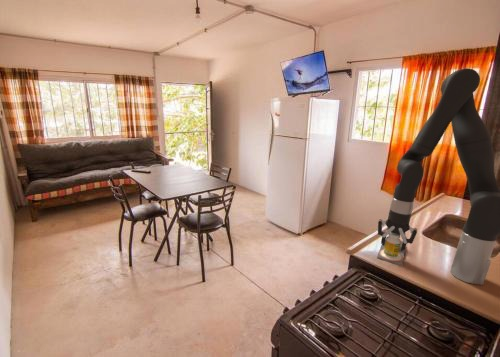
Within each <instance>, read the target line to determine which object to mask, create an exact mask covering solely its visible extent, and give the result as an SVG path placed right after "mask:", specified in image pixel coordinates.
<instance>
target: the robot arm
mask: <svg viewBox="0 0 500 357" xmlns="http://www.w3.org/2000/svg"><path fill="white" fill-rule="evenodd" d="M480 83H481V77H480V75H479V72H478V71H477V70H475V69H473V68H460V69H458V70H455V71H454V72H452V73H450V74H449V75H447V77H446V78H445V79H444V80H443V81H442V82H441V84H440V85H441V86H440V92H441V93H440V94H441V97H440V99H439V101H438V104H437V105H436V107H435V109H434V110H433V112H432V113H431V114H430V116H429V117H428V119H427V120H426V121H425V123H424V124H423V125H422V127H421V129H419V130H420V131H418V133H417V135H416V137H415V139H414V140H413V142H412V144H411V146H410V147H409V148H408V150H407V151H406V152H405V153H404V154H403V155H402V156H401V158H400V159H399V161H398V162H397V166H396V171H397V173H398V174H399V175H400V180H399V183H397V184H396V185H395V187H394V191H393V196H392V199H391V201H390V202H391V203H390V208H389V212H388V217H387V219H386V220H383V219H382V218H381V219H379V220H378V221H377V222H378V223H377V235H379V236H381V241H380V244H381V245H383V246H384V245H385V241H386V238H387V237H388V236H389V233H390V232H391V233H396V234H398V235H400V238H401V239H402V241H403V242H402V247H401V251H403V250H405V251H406V248H407V244H410V245H411V244H413V243H414V241H415V238H416V235H417V234H418V228H416V227H411V226H410V224H411V223H410V222H411V219H412V218H411V217H412V213H413V211H414V201H415V197H416V192H417V190H418V188H419V186H420V184H421V182H422V180H423V178H424V172H425V170H424V166H423V165H422V164H421V163H422V162H423V160H425V158H428V157H430V156H431V155H432V154H433V152H434V151H435V149H436V147H437V146H438V144H439V143H440V141H441V139H442V137H443V136H444V134H445V132H446V131H447V130H448V127H449V126H450V124H451V128H452V134H453V138H454V139H453V140H454V143H455V144H454V145H455V148H456V151H457V156H458V158H459V161H460V164H461V168H462V169H463V171H464V173H465V175H466V176H465V177H466V178H467V182H468V183H467V184H468V190H469V203H470V209H469V214H468V217H467V220H466V222H465V223H464V224H463V227H462V232H461V235H460V237H459V240H458V243H457V247H456V251H455V253H454V257H453V261H452V263H451V268H450V274H452V276H454V277H455V278H457V279H458V280H460V281H462V282H465V283H468V284H473V285H481V286H484V283H485V280H486V278H487V275H488V271H489V269H490V266H491V263H492V261H491V257H492V254H493V251H494V248H495V245H496V242H497V239H498V237H499V235H500V186H499V184H498V182H497V179H496V175H495V154H494V147H493V142H492V138H491V135H490V132H489V129H488V127H487V126H486V124H485V121H484V120H483V119H482V117H481V116H480V114H479V112H478V109H477V107H476V101H475V97H474V92H475V91H476V90H477V89H478V88H479V86H480ZM384 226H386V227H387V229H386V230H385V231H383V227H384ZM408 231H409V232H410V234H411V235H410V237H409V238H408V237H407V234H406V233H407V232H408Z"/></svg>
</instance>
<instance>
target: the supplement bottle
mask: <svg viewBox="0 0 500 357" xmlns="http://www.w3.org/2000/svg"><path fill="white" fill-rule="evenodd" d="M401 241H402V240H401V235H398V234H396V233H391V232H390V233H389V234H388V235H387V236H386V242H385V248H384V254H385V255H386V256H388V257H391V258H396V257H398V254H399V249H400V244H401Z"/></svg>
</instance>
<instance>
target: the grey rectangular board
mask: <svg viewBox="0 0 500 357" xmlns="http://www.w3.org/2000/svg"><path fill="white" fill-rule="evenodd" d="M385 242H386V241H385ZM402 242H403V240H401V244H400V249H399V254H398V257H396V258H391V257H388V256H386V255H385V254H384V248H385V245H384V246H383V245H382V244H381V245H380V247H379V248H380V249H379V251H378V254H377V256H376V258H377V259H378V260H383V261H385V262H388V263H392V264H395V265H397V266H401V267H403V263H404V262H403V261H404V256H405V252H406V249H405V250H403V251H401V247H402Z"/></svg>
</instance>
